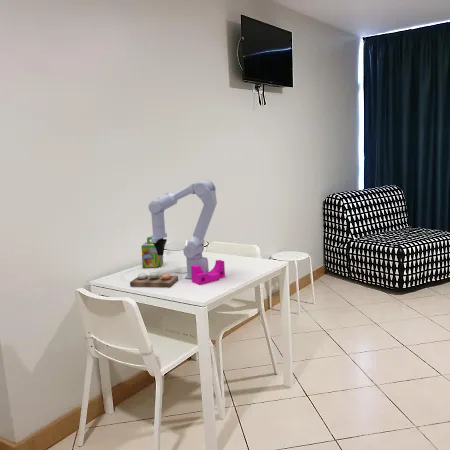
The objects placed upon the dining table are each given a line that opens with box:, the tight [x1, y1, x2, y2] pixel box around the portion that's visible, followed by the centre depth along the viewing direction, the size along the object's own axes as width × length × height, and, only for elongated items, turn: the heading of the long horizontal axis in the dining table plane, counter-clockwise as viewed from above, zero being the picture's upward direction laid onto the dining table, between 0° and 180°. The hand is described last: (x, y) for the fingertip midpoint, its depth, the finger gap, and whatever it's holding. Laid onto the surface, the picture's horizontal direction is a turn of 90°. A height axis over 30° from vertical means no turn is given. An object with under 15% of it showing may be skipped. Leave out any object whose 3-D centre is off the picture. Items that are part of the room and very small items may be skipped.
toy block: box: [191, 259, 226, 286], centre depth 194 cm, size 15×6×8 cm, turn 125°
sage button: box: [149, 271, 159, 278], centre depth 193 cm, size 4×4×2 cm
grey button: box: [137, 272, 147, 279], centre depth 194 cm, size 4×4×2 cm
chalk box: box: [140, 236, 164, 269], centre depth 224 cm, size 9×9×15 cm
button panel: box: [129, 274, 179, 288], centre depth 193 cm, size 18×11×2 cm, turn 77°
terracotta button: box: [161, 273, 171, 280], centre depth 192 cm, size 4×4×2 cm
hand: (160, 255), depth 206 cm, fingers closed
